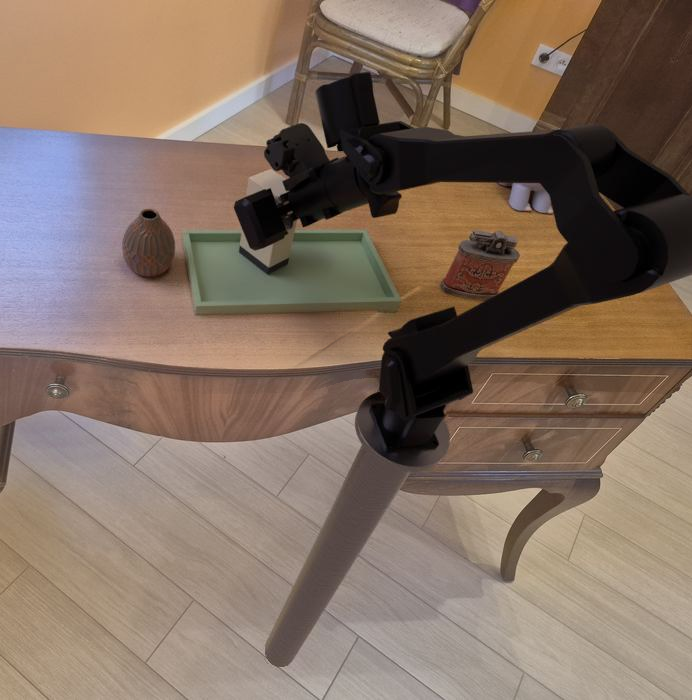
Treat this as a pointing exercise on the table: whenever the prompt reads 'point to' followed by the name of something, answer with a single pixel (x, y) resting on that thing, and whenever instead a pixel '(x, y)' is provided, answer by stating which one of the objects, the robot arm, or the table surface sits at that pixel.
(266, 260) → the eraser
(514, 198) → the hippopotamus toy
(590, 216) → the robot arm
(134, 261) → the vase
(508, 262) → the lighter
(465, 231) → the table surface
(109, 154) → the table surface
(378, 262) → the tray
